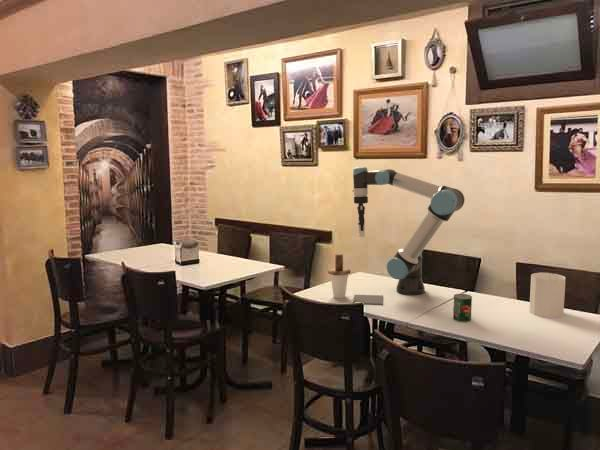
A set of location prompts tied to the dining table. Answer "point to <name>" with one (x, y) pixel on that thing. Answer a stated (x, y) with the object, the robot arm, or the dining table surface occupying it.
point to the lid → (339, 266)
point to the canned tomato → (462, 307)
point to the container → (547, 295)
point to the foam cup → (339, 285)
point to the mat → (369, 299)
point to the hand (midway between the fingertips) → (361, 234)
